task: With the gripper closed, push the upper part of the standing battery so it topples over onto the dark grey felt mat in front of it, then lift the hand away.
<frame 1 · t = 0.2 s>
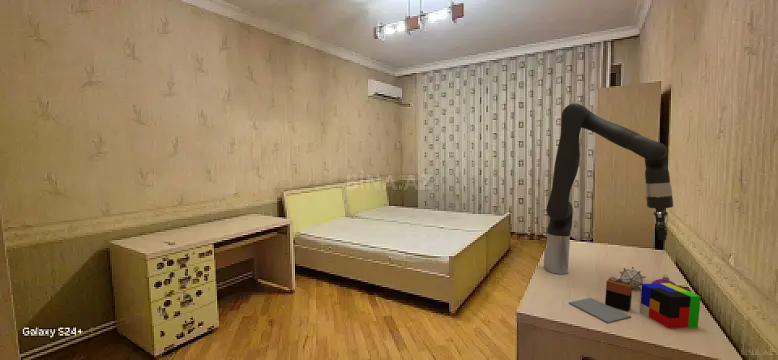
hand: (663, 237, 118), 22 cm above the table, tool pointing down, fingers open, 8 cm apart
battery: (617, 306, 110), on the table
puzzle toy: (667, 320, 102), on the table
game die: (630, 288, 126), on the table
mat: (598, 310, 107), on the table
christmas ornament: (663, 301, 114), on the table
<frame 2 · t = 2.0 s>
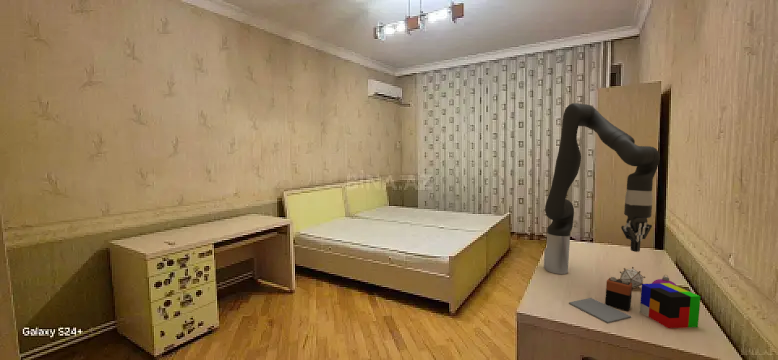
hand: (635, 251, 111), 19 cm above the table, tool pointing down, fingers closed
nothing on the table moved.
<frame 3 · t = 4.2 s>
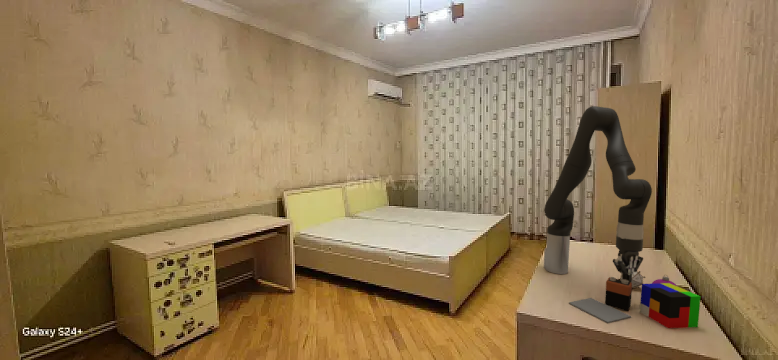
hand: (626, 283, 111), 8 cm above the table, tool pointing down, fingers closed
nothing on the table moved.
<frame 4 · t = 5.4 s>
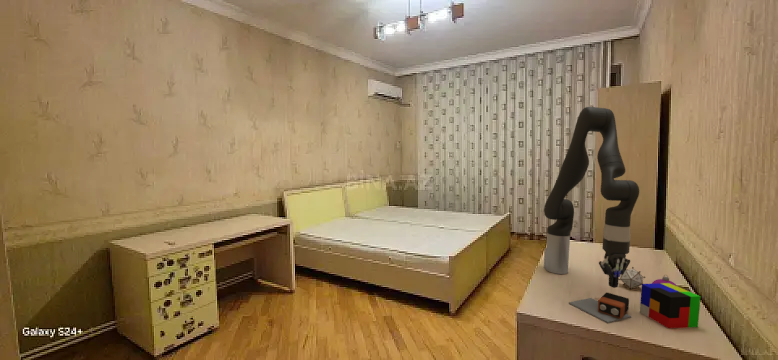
hand: (613, 286, 109), 8 cm above the table, tool pointing down, fingers closed
battery: (617, 300, 109), point 3 cm above the table, touching mat
everything else where it was.
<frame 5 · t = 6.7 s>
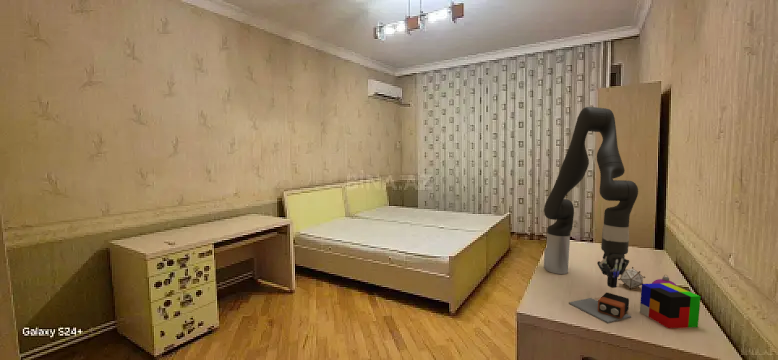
hand: (611, 286, 109), 7 cm above the table, tool pointing down, fingers closed
nothing on the table moved.
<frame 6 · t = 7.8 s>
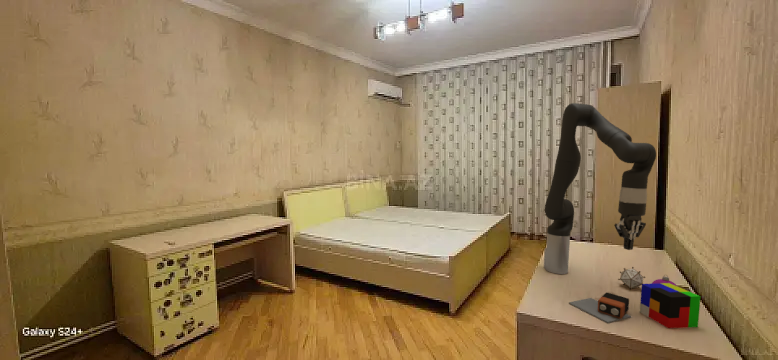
hand: (627, 249, 110), 20 cm above the table, tool pointing down, fingers closed
nothing on the table moved.
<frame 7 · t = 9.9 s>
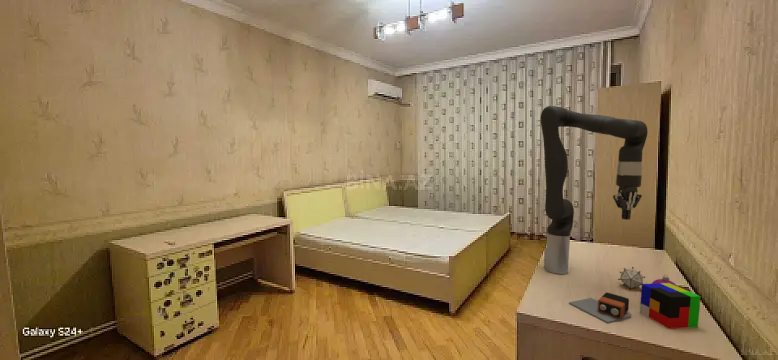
hand: (625, 219, 119), 29 cm above the table, tool pointing down, fingers closed
nothing on the table moved.
at the end: battery tilted 90°; battery inside the target area (6.2 cm from its centre), point 2.7 cm above the table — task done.
